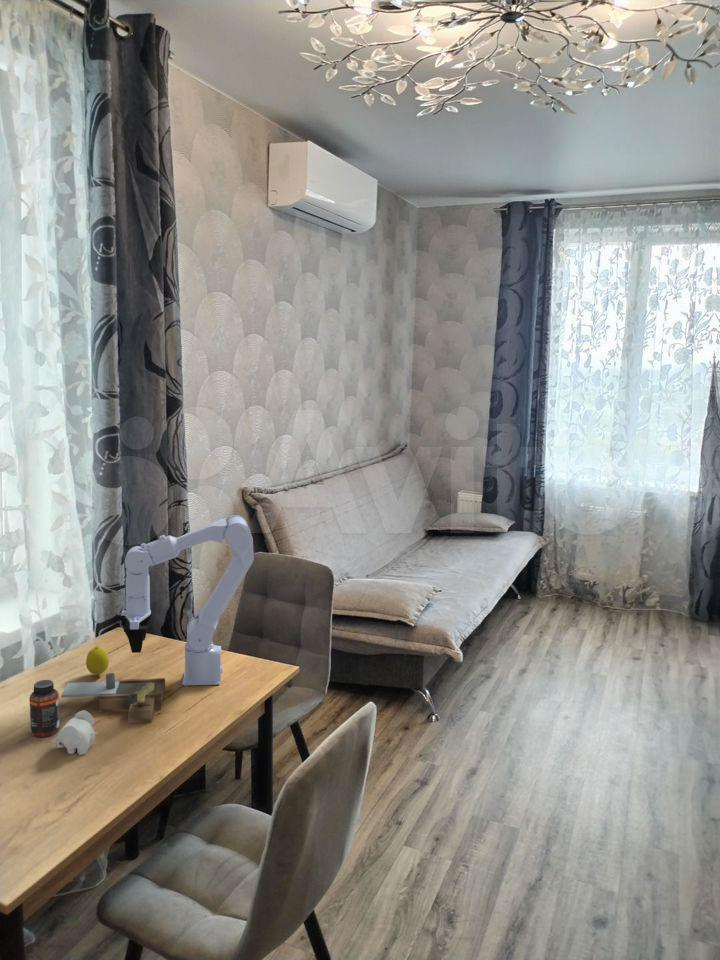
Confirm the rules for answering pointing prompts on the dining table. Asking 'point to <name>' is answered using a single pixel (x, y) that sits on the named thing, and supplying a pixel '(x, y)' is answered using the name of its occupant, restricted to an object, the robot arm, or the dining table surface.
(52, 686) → the supplement bottle
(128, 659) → the dining table surface
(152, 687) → the lever
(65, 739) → the elephant figurine
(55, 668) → the dining table surface
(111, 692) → the lid
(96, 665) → the lemon
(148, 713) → the case
